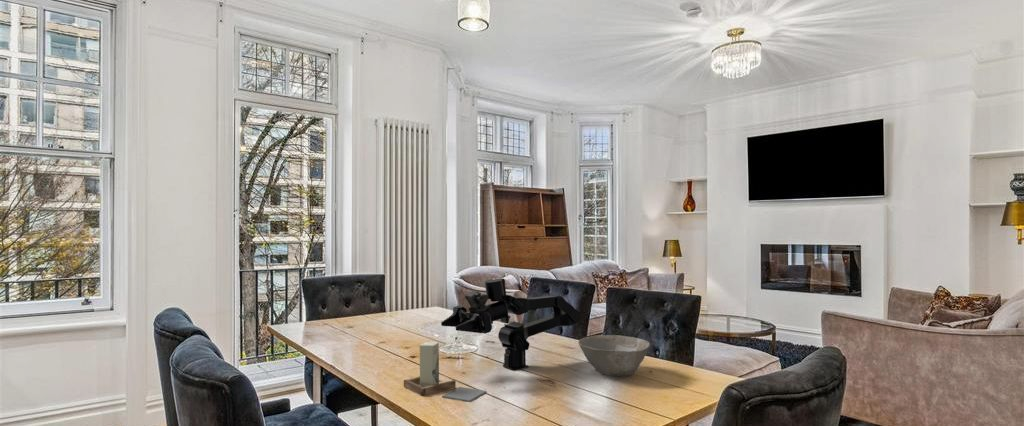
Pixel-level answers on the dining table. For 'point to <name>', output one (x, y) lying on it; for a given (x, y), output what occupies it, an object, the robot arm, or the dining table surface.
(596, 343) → the ceramic bowl
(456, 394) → the coaster
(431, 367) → the box
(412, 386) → the cradle
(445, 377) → the dining table surface
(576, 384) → the dining table surface
